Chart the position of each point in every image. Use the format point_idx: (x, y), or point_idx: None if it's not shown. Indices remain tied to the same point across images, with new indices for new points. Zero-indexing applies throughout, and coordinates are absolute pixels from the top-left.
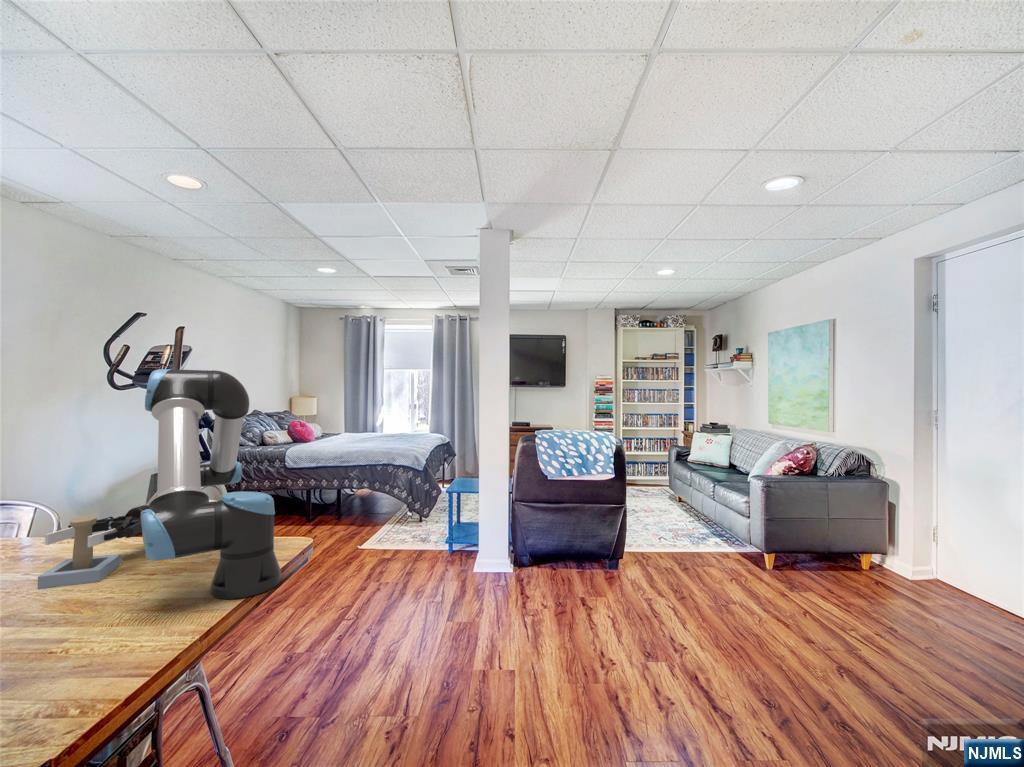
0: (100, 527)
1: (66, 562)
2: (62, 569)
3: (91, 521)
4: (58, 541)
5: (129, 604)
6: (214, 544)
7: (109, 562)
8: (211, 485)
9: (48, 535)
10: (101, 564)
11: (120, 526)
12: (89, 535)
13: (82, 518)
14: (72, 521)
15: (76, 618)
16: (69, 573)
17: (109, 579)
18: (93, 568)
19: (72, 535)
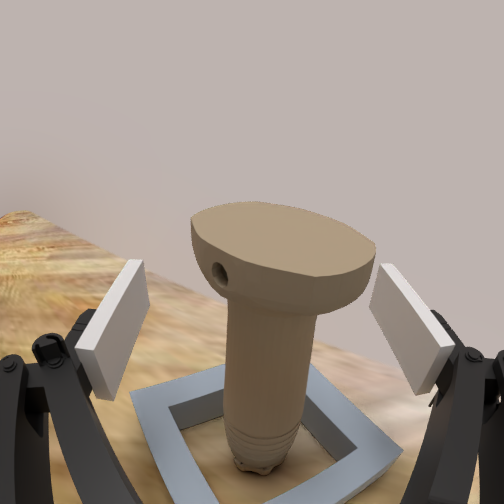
0: (414, 491)
1: (358, 433)
2: (312, 409)
3: (193, 234)
4: (383, 333)
5: (6, 315)
6: None
7: (155, 459)
8: None
9: (379, 270)
10: (170, 439)
11: (43, 337)
12: (227, 335)
13: (310, 235)
14: (284, 207)
15: (64, 286)
16: (213, 367)
17: (118, 433)
18: (163, 402)
19: (413, 373)
